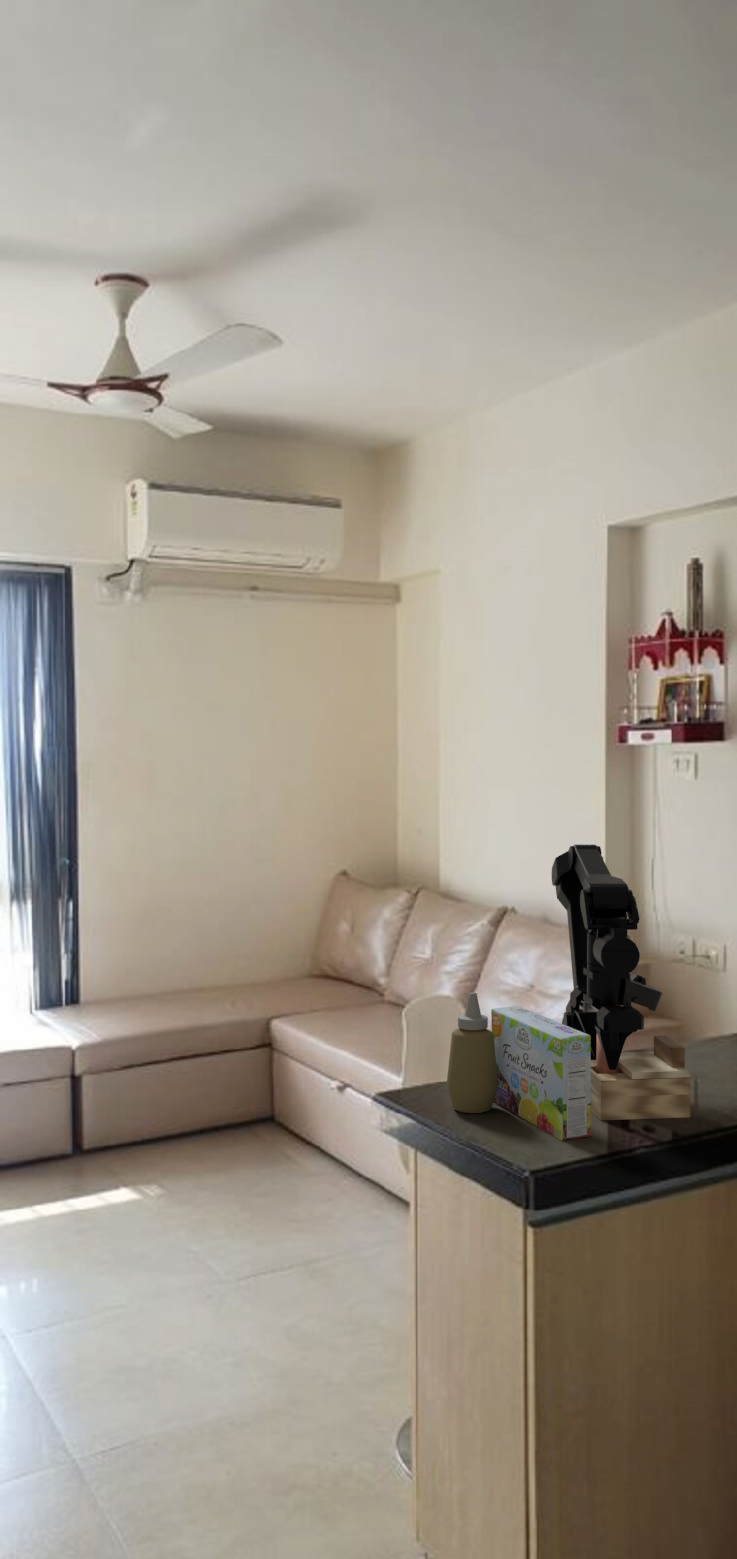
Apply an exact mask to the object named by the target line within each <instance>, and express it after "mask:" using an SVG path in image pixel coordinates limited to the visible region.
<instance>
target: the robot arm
mask: <svg viewBox="0 0 737 1559" xmlns="http://www.w3.org/2000/svg"><path fill="white" fill-rule="evenodd" d="M551 884H552V886H554V887H555V893H556V898H557V900H558V902H559V903H560V904H561V905H562V906H563V908H564V910H566V914H567V924H568V926H567V927H568V937H569V938H568V939H569V949H570V951H569V952H570V960H571V972H572V983H573V990H572V991H571V992H570V993H569V996H570V997H569V1000H568V1003H567V1004H566V1006H565V1011H564V1013H563V1015H562V1016H563V1017H562V1019H561V1020H562V1021H561V1024H564V1025H566V1026H568V1027H571V1028H573V1029H576V1030H578V1031H581V1032H583V1033H586V1034H588V1035H590V1036H591V1060H596V1047H597V1035H598V1038H599V1041H600V1044H601V1047H602V1050H603V1053H604V1056H605V1060H606V1063H607V1065H608V1068H609V1069H610V1070H615V1069H616V1068H617V1065H618V1062H619V1059H620V1055H621V1052H623V1048H624V1045H625V1042H626V1040H627V1038H628V1037H629V1036H631V1034H633V1033H636V1032H638V1031H641V1030H644V1029H645V1027H644V1026H645V1016H644V1015H643V1014H642V1013H641V1012H640V1011H639V1010H638V1009H637V1008H635V1007H633V1006H632V1003H633V1004H637V1005H639V1006H642V1007H644V1008H647V1009H648V1010H650V1011H652V1012H656V1011H657V1010H658V1009H657V1008H658V1006H659V1002H660V1000H661V997H662V995H663V992H662V991H660V990H659V989H657V988H655V987H653V986H652V985H648V984H647V979H646V978H645V977H644V976H642V975H639V974H637V973H633V974H632V975H631V973H632V972H633V971H634V970H636V968H637V966H638V964H639V961H640V955H641V954H640V951H639V948H638V946H637V944H636V943H635V942H634V941H633V940H632V939H631V938H629V936H628V931H629V930H632V931H636V930H638V924H639V922H640V914H639V910H638V905H637V900H636V897H635V896H634V892H633V891H632V890H633V889H629V885H628V884H627V883H626V881H624V879H622V878H620V877H616V876H613V875H612V874H611V872H610V870H609V869H608V866H607V865H606V862H605V861H604V857H603V856H602V848H601V846H600V845H596V844H574V845H570V846H569V848H568V850H567V851H565V852H564V853H562V854H560V855H558V856H557V857H556V856H555V859H554V861H553V864H552V867H551Z"/></svg>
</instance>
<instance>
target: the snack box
mask: <svg viewBox="0 0 737 1559" xmlns="http://www.w3.org/2000/svg"><path fill="white" fill-rule="evenodd" d="M490 1012H491V1015H490V1016H491V1024H490V1025H491V1032H492V1033H493V1035H494V1045H495V1056H496V1067H497V1078H498V1090H497V1093H496V1096H495V1099H494V1102H493V1103H496V1104H497V1105H499V1106H501V1107H503V1109H504V1108H505V1109H506V1110H508V1111H510V1112H511V1113H513V1114H515V1115H517V1116H518V1117H520V1118H522V1119H523V1120H525V1121H527V1122H529V1123H530V1124H532V1125H533V1126H535V1127H537V1128H539V1129H540V1130H543V1131H544V1132H546V1133H548V1134H549V1135H551V1136H553V1137H555V1138H556V1139H558V1140H560V1141H562V1142H563V1141H568V1140H574V1139H579V1138H587V1137H591V1136H592V1122H591V1121H592V1111H591V1036H590V1035H588V1034H586V1033H583V1032H581V1031H578V1030H576V1029H573V1028H571V1027H568V1026H566V1025H564V1024H562V1022H558V1021H555V1020H553V1019H550V1018H548V1017H546V1016H543V1015H542V1014H539V1013H537V1012H534V1011H531V1010H530V1009H527V1008H523V1007H521V1006H518V1005H513V1006H505V1007H495V1008H491V1010H490Z"/></svg>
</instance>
